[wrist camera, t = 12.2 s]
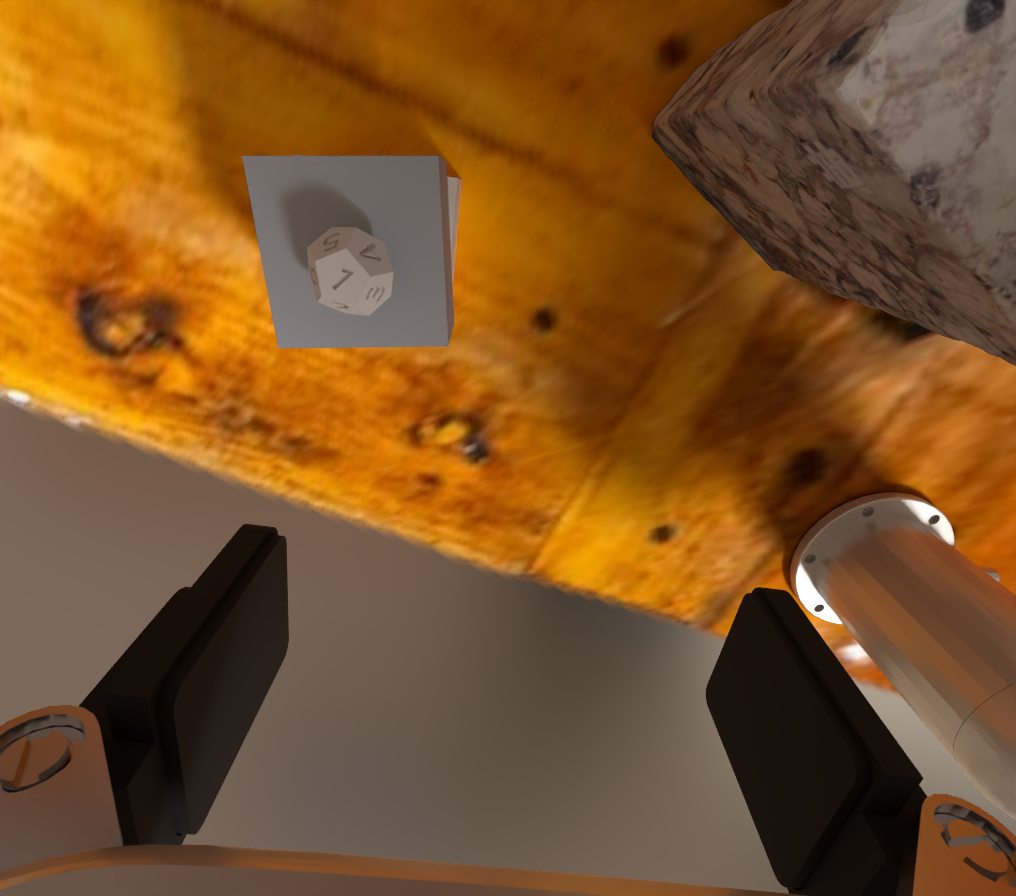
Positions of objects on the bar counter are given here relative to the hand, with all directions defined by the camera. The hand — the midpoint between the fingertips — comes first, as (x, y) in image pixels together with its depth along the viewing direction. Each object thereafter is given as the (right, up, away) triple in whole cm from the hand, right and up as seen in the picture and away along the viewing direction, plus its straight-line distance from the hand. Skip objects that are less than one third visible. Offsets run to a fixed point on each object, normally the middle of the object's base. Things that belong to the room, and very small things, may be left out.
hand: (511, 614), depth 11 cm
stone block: (+14, +20, +21) cm, 32 cm away
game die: (-7, +11, +13) cm, 19 cm away
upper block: (-7, +14, +17) cm, 23 cm away
